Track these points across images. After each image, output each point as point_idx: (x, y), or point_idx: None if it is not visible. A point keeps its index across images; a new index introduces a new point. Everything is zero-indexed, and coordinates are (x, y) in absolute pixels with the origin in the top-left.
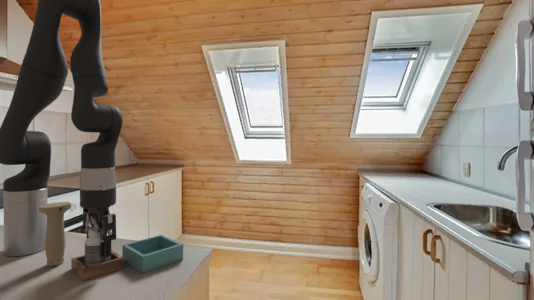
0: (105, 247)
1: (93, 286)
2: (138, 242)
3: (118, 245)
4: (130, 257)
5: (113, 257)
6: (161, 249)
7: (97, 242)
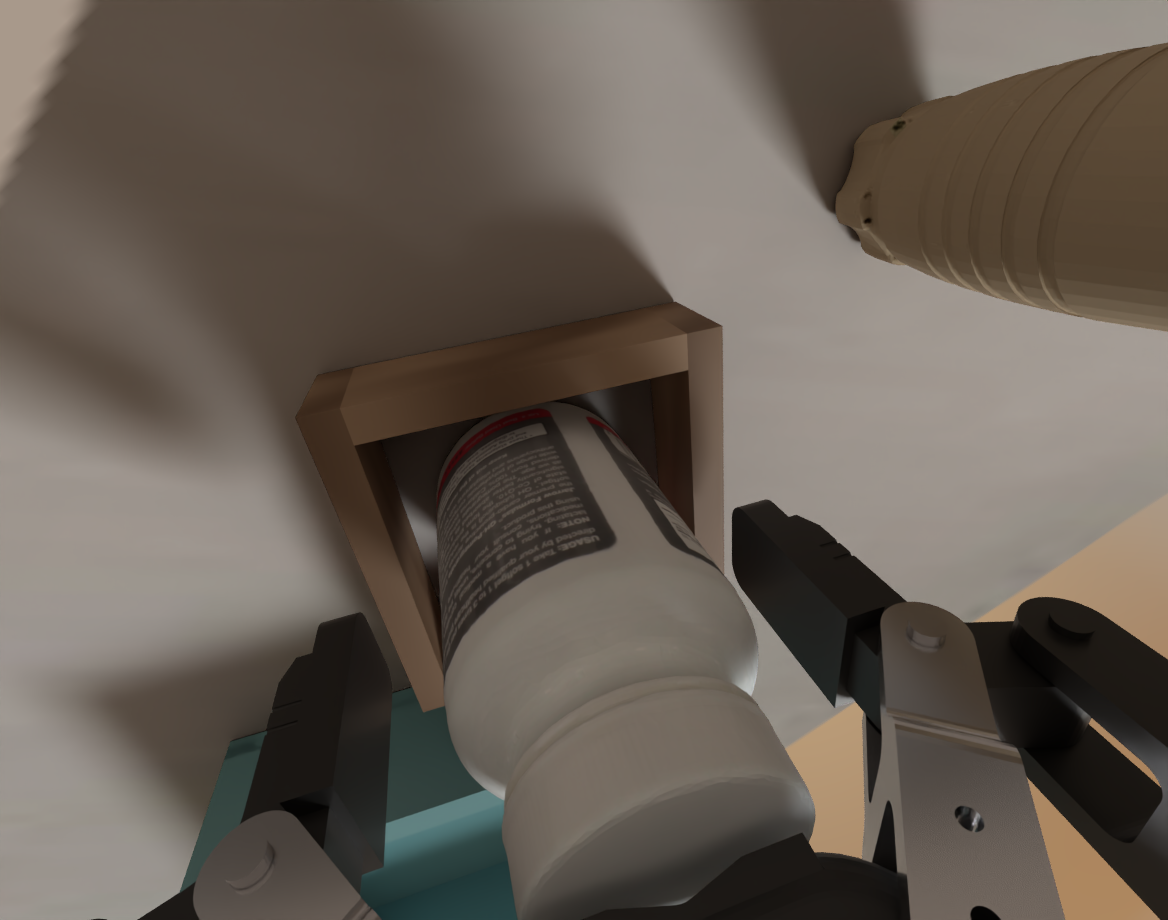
0: (264, 776)
1: (133, 438)
2: None
3: None
4: (443, 734)
5: None
6: None
7: (459, 719)
